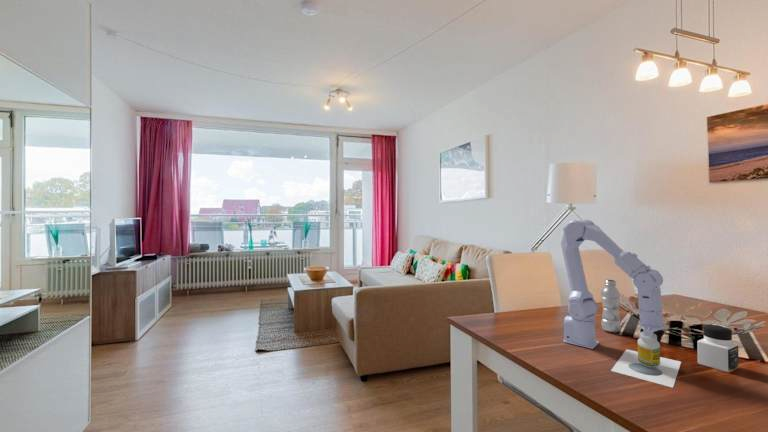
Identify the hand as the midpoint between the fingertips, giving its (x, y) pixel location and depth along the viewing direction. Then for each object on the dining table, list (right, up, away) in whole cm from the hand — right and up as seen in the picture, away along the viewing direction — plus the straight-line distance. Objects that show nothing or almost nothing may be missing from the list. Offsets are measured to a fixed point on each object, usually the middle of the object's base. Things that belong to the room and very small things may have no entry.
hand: (653, 354), depth 103 cm
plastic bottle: (+6, -3, +29) cm, 30 cm away
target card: (-3, -3, -2) cm, 5 cm away
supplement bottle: (-2, -2, -1) cm, 3 cm away
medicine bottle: (+18, -3, -2) cm, 18 cm away
